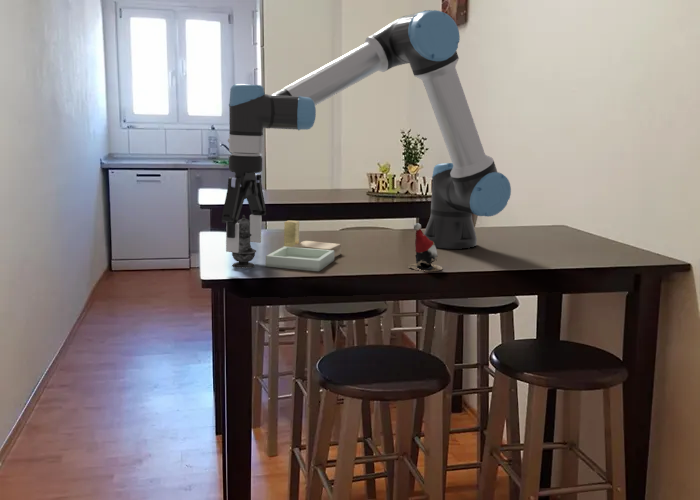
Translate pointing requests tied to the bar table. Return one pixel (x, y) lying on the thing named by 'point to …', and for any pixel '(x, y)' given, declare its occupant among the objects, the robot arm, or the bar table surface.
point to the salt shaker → (244, 246)
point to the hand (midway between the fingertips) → (244, 247)
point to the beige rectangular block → (320, 246)
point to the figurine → (424, 252)
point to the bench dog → (291, 233)
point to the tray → (300, 258)
